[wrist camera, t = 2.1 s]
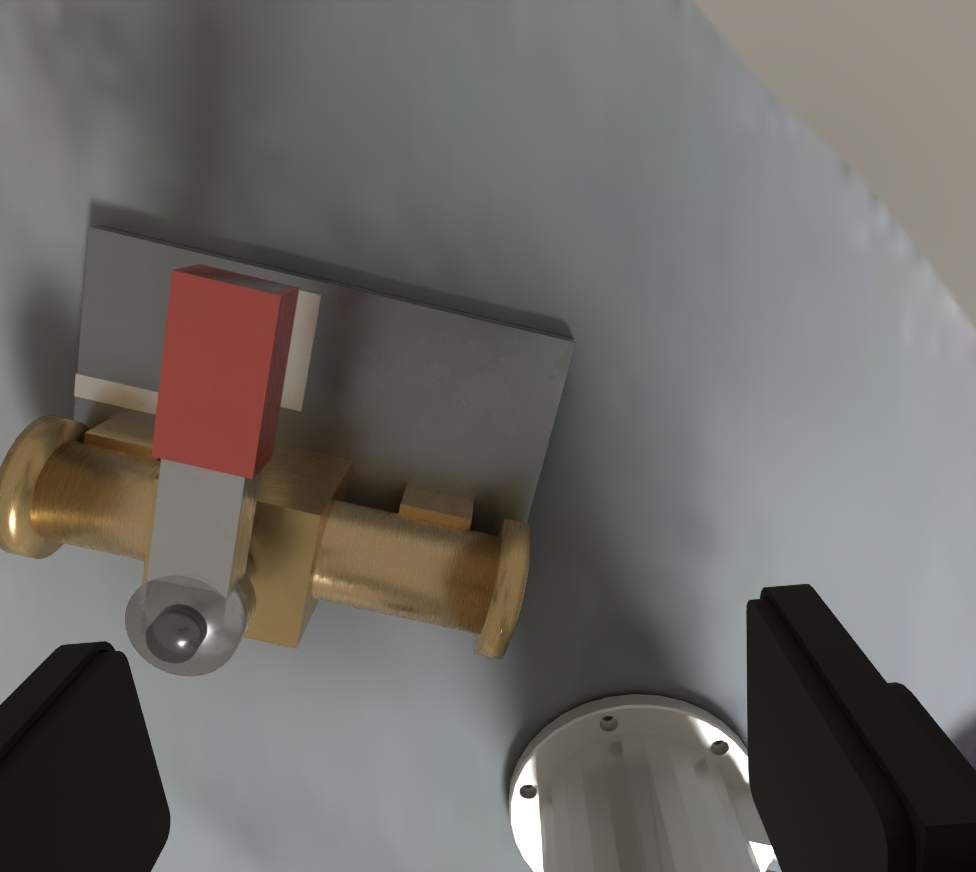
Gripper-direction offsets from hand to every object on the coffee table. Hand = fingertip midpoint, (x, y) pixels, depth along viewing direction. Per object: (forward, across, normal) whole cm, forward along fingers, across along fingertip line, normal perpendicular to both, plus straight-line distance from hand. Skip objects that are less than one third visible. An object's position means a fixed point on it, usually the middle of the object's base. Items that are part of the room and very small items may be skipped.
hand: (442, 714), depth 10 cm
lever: (+15, +8, +1) cm, 17 cm away
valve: (+24, +8, +3) cm, 25 cm away
